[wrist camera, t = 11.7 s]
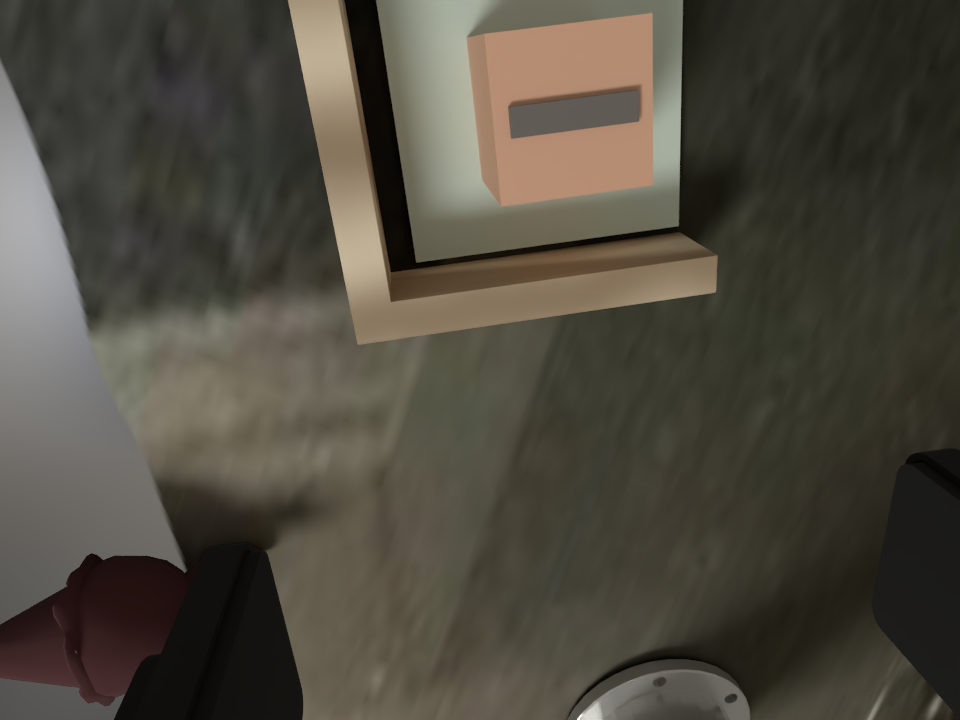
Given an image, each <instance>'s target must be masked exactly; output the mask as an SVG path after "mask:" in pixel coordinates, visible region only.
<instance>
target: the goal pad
mask: <svg viewBox="0 0 960 720" xmlns="http://www.w3.org/2000/svg"><path fill="white" fill-rule="evenodd" d="M376 3H377V9H378V16H379V22H380V29H381V35H382V42H383V48H384V55H385V62H386V68H387V75H388V81H389V88H390V94H391V101H392V107H393V114H394V120H395V127H396V133H397V140H398V146H399V153H400V160H401V166H402V173H403V179H404V186H405V192H406V199H407V205H408V212H409V218H410V225H411V231H412V238H413V244H414V251H415V258H416V263H418V262H425V261H432V260H439V259H446V258H454V257H461V256H468V255H475V254H482V253H489V252H497V251H504V250H511V249H518V248H525V247H533V246H540V245H547V244H554V243H561V242H568V241H576V240H583V239H590V238H597V237H604V236H611V235H619V234H626V233H633V232H640V231H647V230H655V229H662V228H669V227H676V226H679V187H680V134H681V81H682V28H683V0H376ZM648 13H653V185H651V186H644V187H637V188H630V189H623V190H616V191H609V192H602V193H595V194H588V195H581V196H574V197H567V198H559V199H552V200H545V201H538V202H531V203H524V204H517V205H510V206H503V207H501V205H500V204H499V203H498V201H497V200H496V199H495V197H494V196H493V195H492V193H491V192H490V190H489V189H488V188H487V186H486V185H485V184H484V182H483V181H482V175H481V166H480V157H479V148H478V139H477V130H476V121H475V112H474V102H473V93H472V84H471V75H470V66H469V57H468V48H467V39H466V38H468V37H472V36H477V35H481V34H487V33H495V32H503V31H511V30H520V29H528V28H536V27H544V26H552V25H560V24H568V23H576V22H584V21H592V20H600V19H608V18H616V17H624V16H632V15H640V14H648Z"/></svg>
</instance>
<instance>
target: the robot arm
mask: <svg viewBox="0 0 960 720" xmlns="http://www.w3.org/2000/svg"><path fill="white" fill-rule="evenodd" d="M872 608H873V614H874V617H875V619H876V621H877V623H878V625H879V627H880V628H881V629H882V631H883V632H884V633H885V634H886V635H887V636H888V638H889V639H890V640H891V641H892V642H893V643H894V644H895V646H896V647H897V648H898V649H899V650H900V651H901V652H902V654H903V655H904V656H905V657H906V658H907V659H908V660H909V662H910V663H911V664H912V665H913V666H914V667H915V668H916V670H917V671H918V672H919V673H920V674H921V675H922V676H923V678H924V679H925V680H926V681H927V682H928V683H929V684H930V686H931V687H932V688H933V689H934V690H935V691H936V692H937V694H938V695H939V696H940V697H941V698H942V699H943V700H944V702H945V703H946V704H947V705H948V706H949V707H950V708H951V710H952V711H953V712H954V713H955V714H956V715H957V716H958V718H959V719H960V451H959V450H957V449H942V450H935V451H927V452H920V453H915V454H912V455H910V456H909V458H908V459H907V460H906V463H905V465H902V466H901V467H900V468H899V469H898V472H897V475H896V481H895V486H894V491H893V496H892V502H891V507H890V512H889V518H888V523H887V528H886V533H885V539H884V544H883V549H882V555H881V560H880V565H879V570H878V576H877V581H876V586H875V591H874V597H873V603H872ZM302 716H303V694H302V688H301V683H300V679H299V675H298V672H297V668H296V664H295V660H294V656H293V652H292V648H291V644H290V640H289V636H288V632H287V628H286V624H285V620H284V616H283V613H282V609H281V605H280V601H279V597H278V593H277V589H276V585H275V581H274V577H273V573H272V569H271V565H270V561H269V558H268V555H267V553H266V551H256V552H255V551H254V548H253V546H252V545H251V543H249V542H244V543H236V544H229V545H221V546H214V547H208V548H207V549H205V551H204V553H203V554H202V557H201V559H200V562H199V564H198V566H197V569H196V571H195V573H194V576H193V578H192V581H191V583H190V585H189V588H188V590H187V593H186V595H185V597H184V600H183V602H182V604H181V607H180V609H179V612H178V614H177V616H176V619H175V621H174V624H173V626H172V628H171V631H170V633H169V635H168V638H167V640H166V643H165V645H164V647H163V650H162V652H161V654H156V655H149V656H147V657H146V658H145V659H144V660H143V661H142V662H141V663H140V665H139V667H138V668H137V670H136V672H135V674H134V676H133V678H132V681H131V683H130V685H129V687H128V689H127V692H126V694H125V696H124V698H123V701H122V703H121V705H120V707H119V709H118V712H117V714H116V716H115V718H114V720H302ZM567 720H750V708H749V705H748V702H747V699H746V697H745V696H744V694H743V692H742V690H741V689H740V687H739V685H738V683H737V682H736V681H735V680H734V679H733V678H732V677H731V676H730V675H729V674H728V673H726V672H725V671H723V670H721V669H720V668H718V667H716V666H713V665H710V664H708V663H705V662H701V661H695V660H688V659H665V660H658V661H652V662H647V663H644V664H640V665H637V666H633V667H630V668H628V669H626V670H623V671H621V672H619V673H616V674H614V675H613V676H611V677H609V678H608V679H606V680H604V681H603V682H601V683H599V684H598V685H597V686H596V687H594V688H593V689H592V690H591V691H590V692H588V693H587V694H586V695H585V696H584V697H583V698H582V699H581V701H580V702H579V703H578V704H577V705H576V706H575V707H574V709H573V711H572V712H571V714H570V716H569V718H568V719H567Z"/></svg>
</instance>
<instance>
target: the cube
mask: <svg viewBox="0 0 960 720" xmlns="http://www.w3.org/2000/svg"><path fill="white" fill-rule="evenodd" d="M466 39H467V48H468V57H469V66H470V75H471V84H472V93H473V102H474V112H475V121H476V130H477V139H478V148H479V157H480V166H481V175H482V181H483V182H484V184H485V185H486V186H487V188H488V189H489V190H490V192H491V193H492V195H493V196H494V197H495V199H496V200H497V201H498V203H499V204H500V205H501V207H503V206H510V205H517V204H524V203H531V202H538V201H545V200H552V199H559V198H567V197H574V196H581V195H588V194H595V193H602V192H609V191H616V190H623V189H630V188H637V187H644V186H651V185H653V13H648V14H640V15H632V16H624V17H616V18H608V19H600V20H592V21H584V22H576V23H568V24H560V25H552V26H544V27H536V28H528V29H520V30H511V31H503V32H495V33H487V34H481V35H477V36H472V37H468V38H466Z"/></svg>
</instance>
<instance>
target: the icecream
mask: <svg viewBox="0 0 960 720" xmlns="http://www.w3.org/2000/svg"><path fill="white" fill-rule="evenodd" d="M253 548H254V551H255V552H256V551H262V549H259V548H256V547H253ZM198 564H199V563H198ZM198 564H196V565H195V566H194V567H192V568H191V569H189V570H188V571H187V572H185V573H184V572H183V571H182V570H181V569H179V568H178V567H176V566H174V565H173V564H171V563H170V562H168V561H167V560H162V559H158V558H154V557H150V556H113V557H110V558H107V559H105V560H102V559H101V558H100V557H99V556H97V555H95V554H90V555H88V556H87V557H86V558H85V559H84V561H83V562H82V564H81V565H80V567H79V568H77V569H76V570H75V571H73V572H72V573H71V574H70V576H69V577H68V579H67V582H66V585H67V587H65V588H64V589H62V590H60V591H58V592H57V593H55V594H53V595H52V596H50V597H48V598H46V599H44V600H43V601H41V602H39V603H37V604H36V605H34V606H32V607H31V608H29V609H27V610H25V611H23V612H22V613H20V614H18V615H16V616H15V617H13V618H11V619H9V620H8V621H6V622H4V623H2V624H1V625H0V678H4V679H12V680H21V681H28V682H37V683H45V684H53V685H61V686H69V687H77V688H80V690H79V693H80V695H81V697H82V698H83V699H85V701H86V702H87V703H93V702H99V703H100V704H102V705H104V706H109V705H110V704H111V703H112V702H113V701H114V699H115V697H118V696H121V695H124V694H126V692H127V689H128V687H129V685H130V683H131V681H132V678H133V676H134V674H135V672H136V670H137V668H138V667H139V665H140V663H141V662H142V661H143V660H144V659H145V658H146V657H147V656H149V655H156V654H161V652H162V650H163V647H164V645H165V643H166V640H167V638H168V635H169V633H170V631H171V628H172V626H173V624H174V621H175V619H176V616H177V614H178V612H179V609H180V607H181V604H182V602H183V600H184V597H185V595H186V593H187V590H188V588H189V585H190V583H191V581H192V578H193V576H194V573H195V571H196V569H197V566H198Z"/></svg>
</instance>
